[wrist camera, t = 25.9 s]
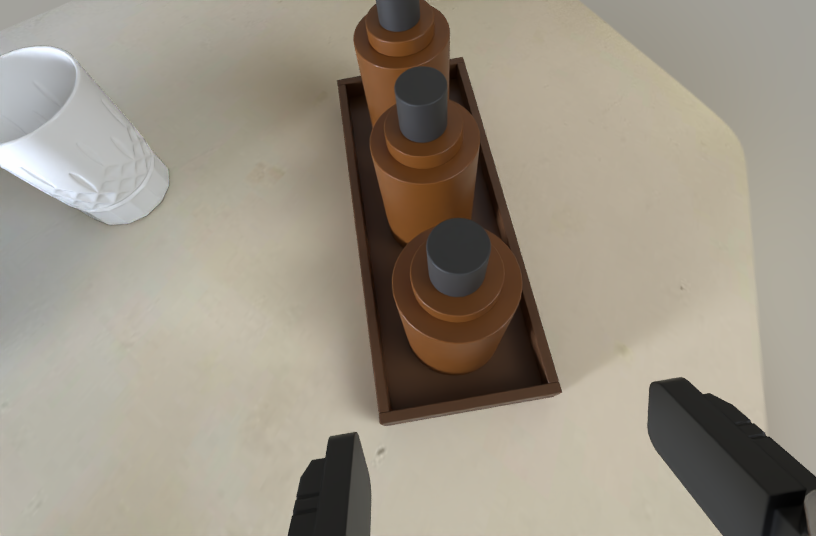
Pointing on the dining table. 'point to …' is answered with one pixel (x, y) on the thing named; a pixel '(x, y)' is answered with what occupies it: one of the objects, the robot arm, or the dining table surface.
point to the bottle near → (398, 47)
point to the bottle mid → (424, 155)
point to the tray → (378, 251)
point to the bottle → (456, 295)
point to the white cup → (74, 138)
